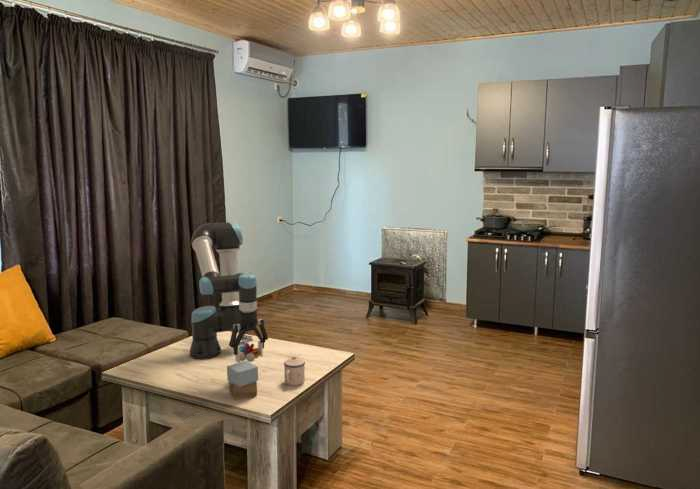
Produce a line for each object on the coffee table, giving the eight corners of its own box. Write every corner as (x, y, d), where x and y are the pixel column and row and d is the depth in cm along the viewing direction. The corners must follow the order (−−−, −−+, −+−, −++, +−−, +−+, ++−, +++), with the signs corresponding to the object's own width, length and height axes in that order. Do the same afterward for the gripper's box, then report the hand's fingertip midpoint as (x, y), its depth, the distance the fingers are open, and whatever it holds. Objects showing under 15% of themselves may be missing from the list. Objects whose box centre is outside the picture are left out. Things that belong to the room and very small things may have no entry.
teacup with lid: (289, 376, 241) (289, 351, 239) (308, 379, 238) (308, 353, 236) (277, 386, 229) (276, 360, 228) (296, 389, 226) (296, 363, 225)
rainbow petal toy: (255, 363, 232) (254, 347, 231) (234, 361, 234) (233, 345, 233) (262, 356, 241) (262, 340, 239) (241, 354, 242) (241, 338, 241)
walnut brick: (229, 391, 225) (229, 378, 224) (250, 387, 229) (250, 374, 228) (235, 400, 217) (234, 386, 216) (256, 396, 221) (256, 382, 220)
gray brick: (227, 380, 222) (226, 366, 221) (246, 374, 228) (245, 360, 227) (238, 386, 216) (238, 372, 215) (258, 380, 222) (257, 366, 221)
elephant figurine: (257, 342, 284) (244, 341, 278) (250, 349, 287) (237, 347, 280) (252, 327, 290) (239, 325, 283) (245, 334, 292) (232, 332, 286)
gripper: (227, 317, 223) (228, 367, 227) (275, 307, 236) (276, 355, 241) (219, 312, 229) (221, 361, 233) (267, 303, 242) (268, 350, 246)
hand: (249, 358), depth 237 cm, fingers closed on rainbow petal toy, 10 cm apart
